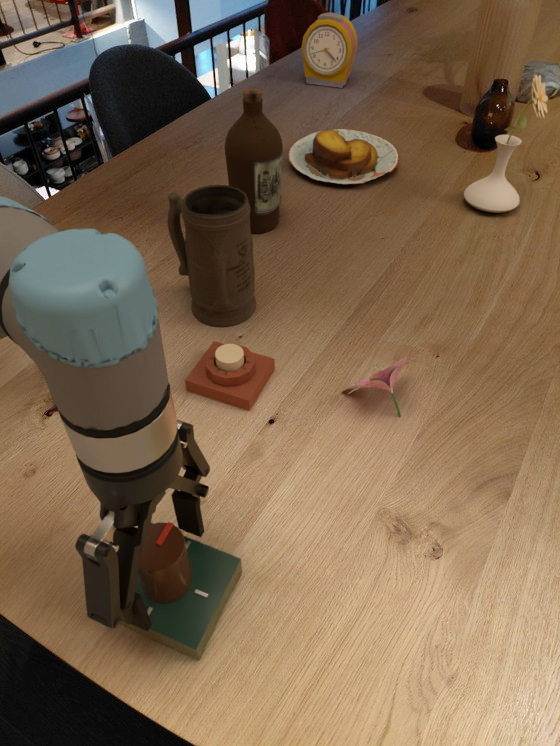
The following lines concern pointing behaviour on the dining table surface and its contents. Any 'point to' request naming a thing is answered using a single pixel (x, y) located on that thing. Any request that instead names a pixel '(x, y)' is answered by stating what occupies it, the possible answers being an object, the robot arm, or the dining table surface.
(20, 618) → the dining table surface
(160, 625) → the panel
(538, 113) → the flower in vase
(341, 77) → the alarm clock
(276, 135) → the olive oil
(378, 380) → the lily
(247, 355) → the button block
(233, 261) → the beer stein
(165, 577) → the knob
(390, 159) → the food on plate
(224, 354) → the button
